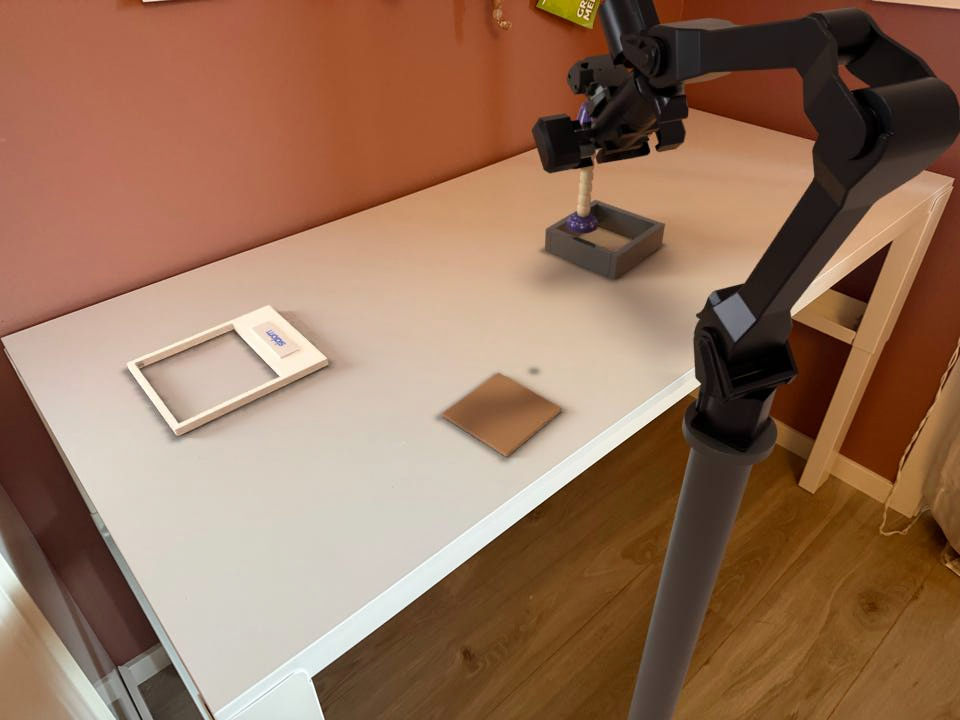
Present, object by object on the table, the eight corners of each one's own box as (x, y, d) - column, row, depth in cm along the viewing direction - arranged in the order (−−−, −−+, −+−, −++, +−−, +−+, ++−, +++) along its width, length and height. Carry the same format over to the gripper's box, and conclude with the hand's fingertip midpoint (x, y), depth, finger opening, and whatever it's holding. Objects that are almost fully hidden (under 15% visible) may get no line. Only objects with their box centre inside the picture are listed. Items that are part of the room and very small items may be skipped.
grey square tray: (661, 245, 103) (665, 223, 101) (614, 279, 96) (617, 256, 94) (593, 220, 110) (595, 199, 108) (544, 250, 103) (545, 228, 101)
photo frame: (327, 357, 82) (174, 428, 74) (328, 364, 83) (177, 436, 74) (268, 303, 91) (125, 361, 82) (270, 310, 92) (129, 369, 83)
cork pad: (561, 411, 76) (561, 407, 76) (506, 457, 71) (506, 454, 71) (498, 375, 81) (498, 372, 81) (442, 416, 76) (442, 413, 76)
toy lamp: (581, 215, 101) (589, 95, 91) (608, 225, 98) (619, 102, 88) (560, 227, 98) (565, 105, 88) (587, 238, 96) (596, 113, 85)
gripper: (687, 26, 82) (627, 96, 97) (540, 46, 77) (500, 116, 92) (717, 116, 81) (651, 172, 96) (571, 142, 76) (525, 197, 91)
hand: (583, 162), depth 94 cm, fingers closed on toy lamp, 4 cm apart
